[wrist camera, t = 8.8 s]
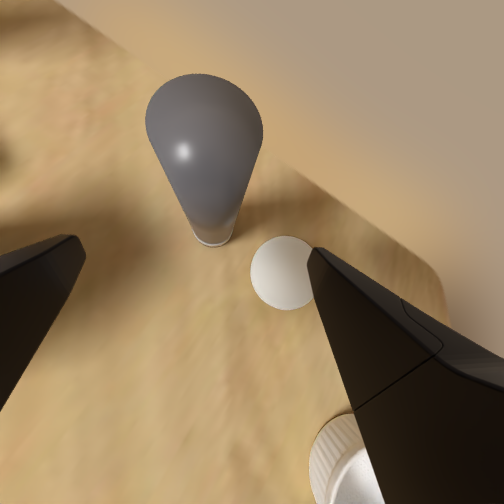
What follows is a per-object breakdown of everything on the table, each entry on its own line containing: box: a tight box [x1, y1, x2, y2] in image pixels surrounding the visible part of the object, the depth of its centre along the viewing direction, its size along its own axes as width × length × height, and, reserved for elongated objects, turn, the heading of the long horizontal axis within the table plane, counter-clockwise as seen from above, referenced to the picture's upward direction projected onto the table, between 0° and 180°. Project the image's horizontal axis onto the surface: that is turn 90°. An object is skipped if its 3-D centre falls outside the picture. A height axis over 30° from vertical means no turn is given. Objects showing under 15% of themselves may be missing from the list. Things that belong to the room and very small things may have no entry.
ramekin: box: [309, 414, 385, 504], centre depth 16 cm, size 9×9×4 cm
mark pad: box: [250, 236, 314, 310], centre depth 19 cm, size 7×7×1 cm
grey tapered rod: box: [145, 74, 263, 247], centre depth 12 cm, size 4×4×13 cm
